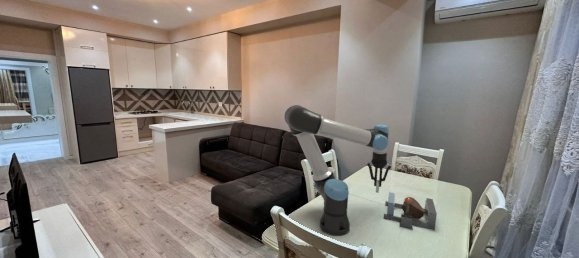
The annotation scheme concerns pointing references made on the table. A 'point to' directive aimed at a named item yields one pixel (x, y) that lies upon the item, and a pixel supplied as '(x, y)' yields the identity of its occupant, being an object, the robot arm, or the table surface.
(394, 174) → the table surface
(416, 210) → the rock
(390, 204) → the vise jaw
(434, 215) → the vise frame
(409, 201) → the lever
